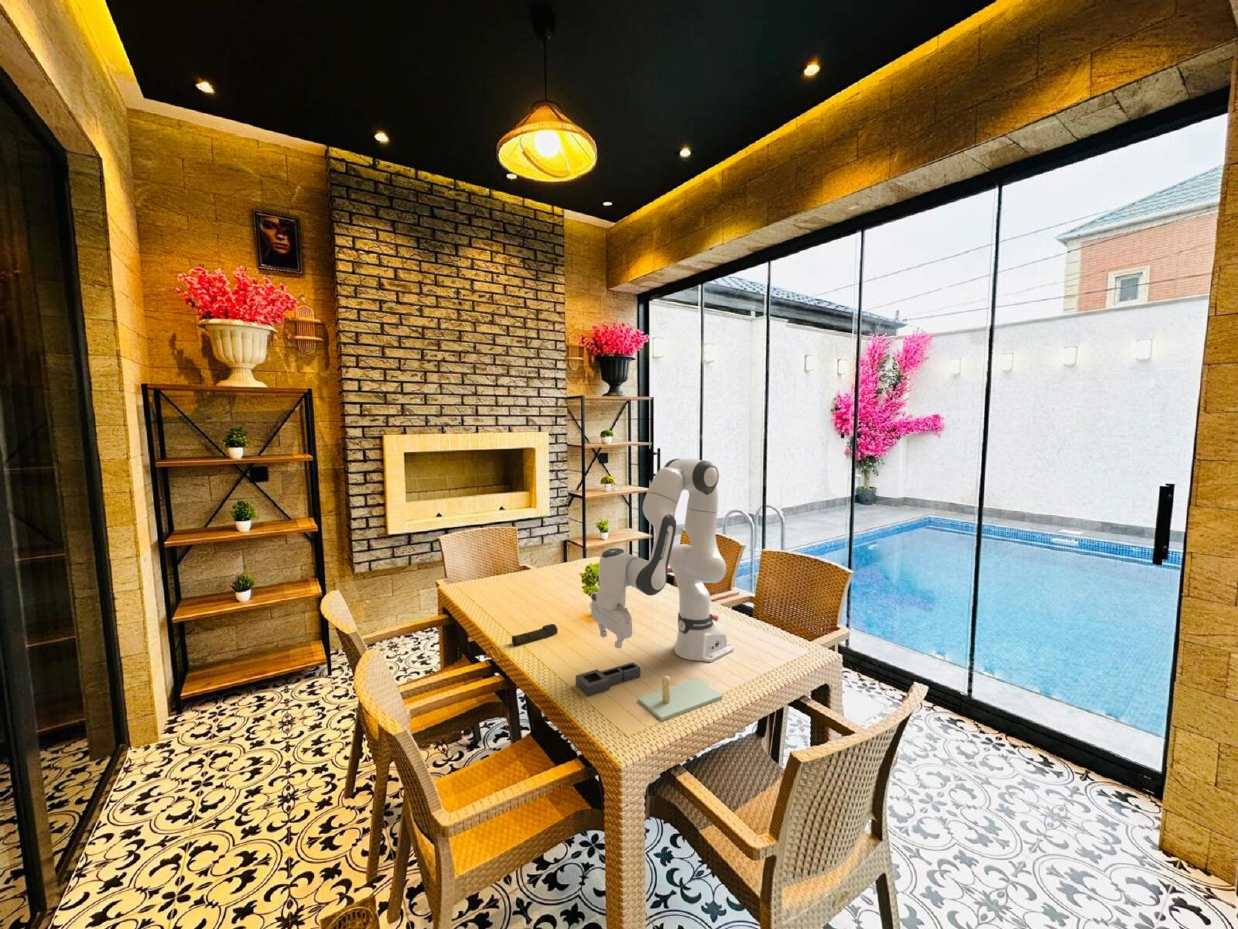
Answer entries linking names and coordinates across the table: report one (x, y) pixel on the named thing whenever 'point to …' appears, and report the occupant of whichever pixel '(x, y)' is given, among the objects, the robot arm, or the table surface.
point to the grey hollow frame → (606, 678)
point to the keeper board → (678, 698)
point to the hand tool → (535, 634)
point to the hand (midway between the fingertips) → (610, 642)
